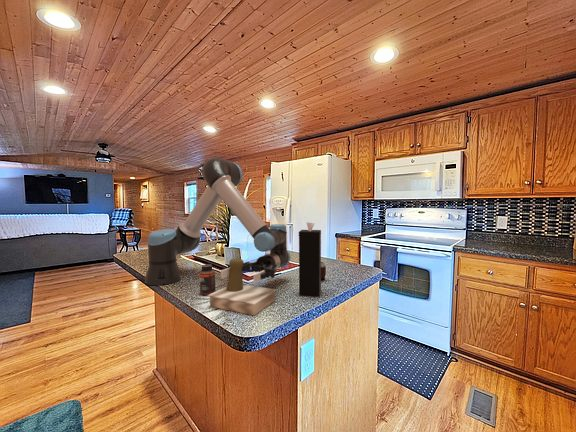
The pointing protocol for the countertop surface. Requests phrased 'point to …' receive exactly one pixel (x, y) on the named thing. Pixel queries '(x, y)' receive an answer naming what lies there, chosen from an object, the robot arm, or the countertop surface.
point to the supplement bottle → (207, 280)
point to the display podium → (243, 299)
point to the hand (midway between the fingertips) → (237, 276)
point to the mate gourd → (323, 271)
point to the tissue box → (310, 261)
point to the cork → (235, 275)
